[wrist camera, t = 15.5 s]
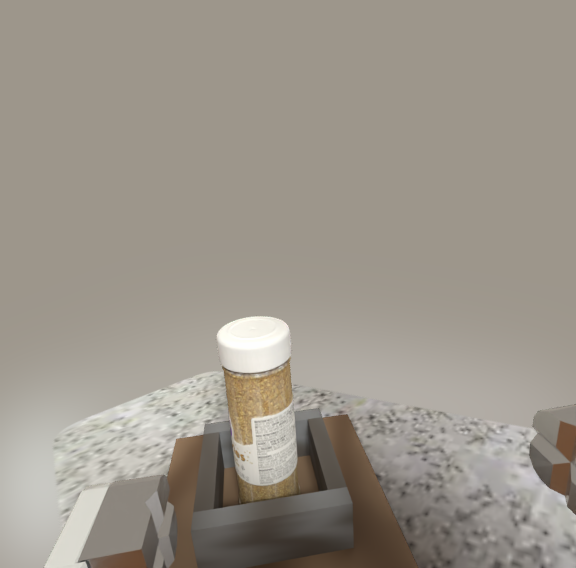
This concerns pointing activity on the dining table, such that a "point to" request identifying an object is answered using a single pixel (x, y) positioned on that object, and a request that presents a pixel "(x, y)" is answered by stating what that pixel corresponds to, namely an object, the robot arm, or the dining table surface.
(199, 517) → the socket base
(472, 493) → the dining table surface
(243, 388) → the sprinkles bottle
